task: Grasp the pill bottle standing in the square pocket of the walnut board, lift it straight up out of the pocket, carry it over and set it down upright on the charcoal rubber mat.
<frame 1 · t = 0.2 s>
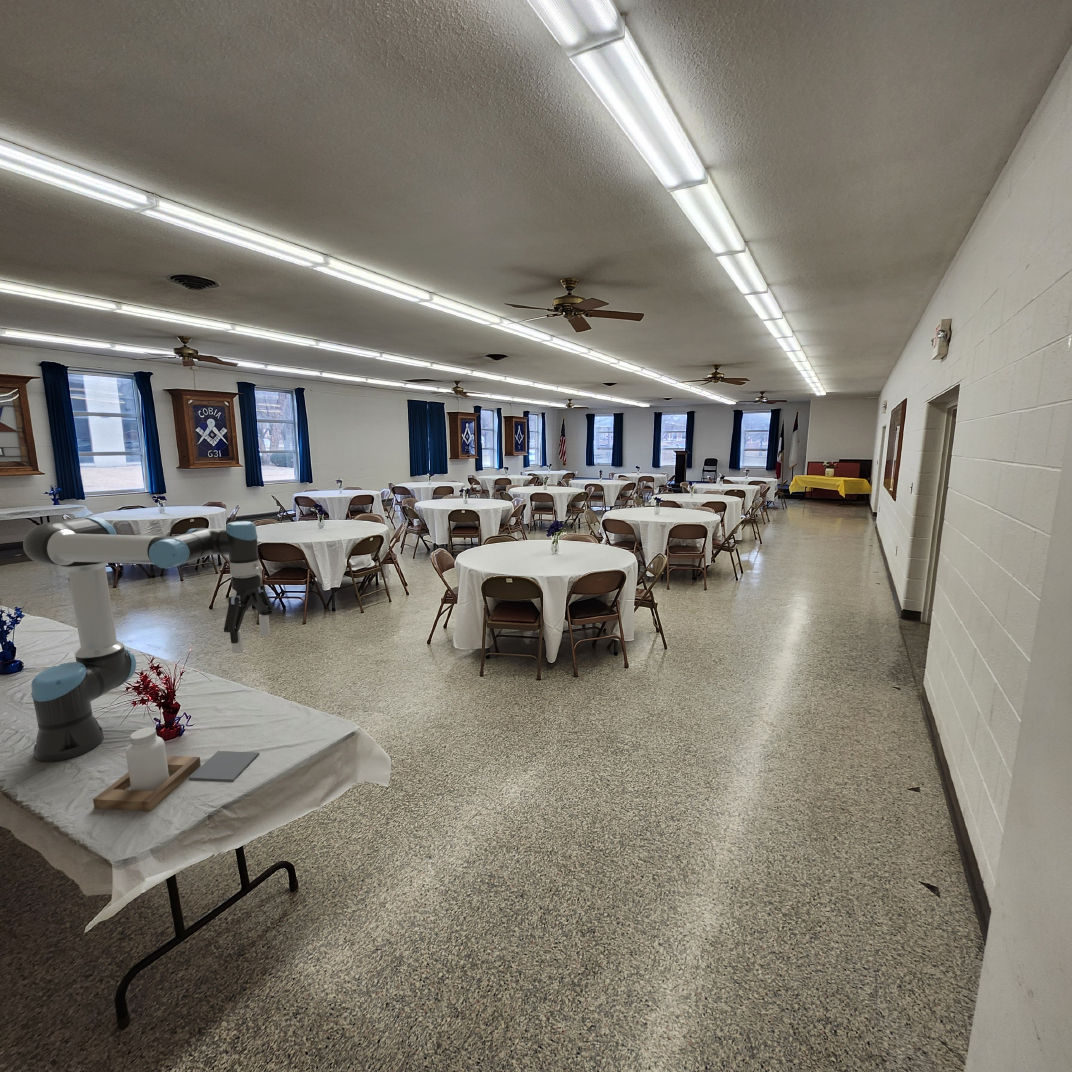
hand: (252, 643, 158), 28 cm above the table, fingers open, 13 cm apart
pocket board: (150, 785, 136), on the table
pill bottle: (150, 786, 136), on the table
mat: (225, 766, 144), on the table
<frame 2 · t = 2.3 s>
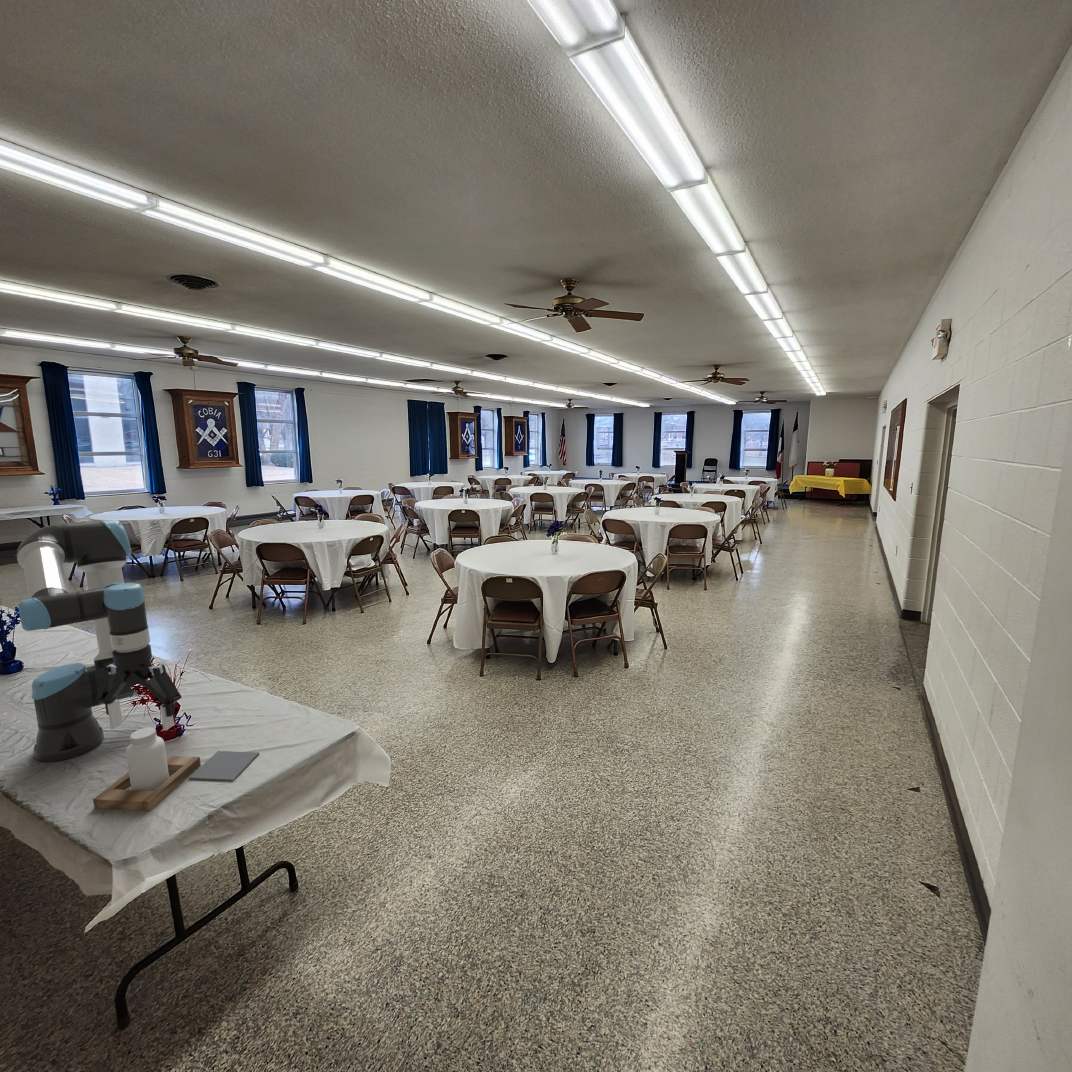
hand: (142, 727, 133), 17 cm above the table, fingers open, 13 cm apart
nothing on the table moved.
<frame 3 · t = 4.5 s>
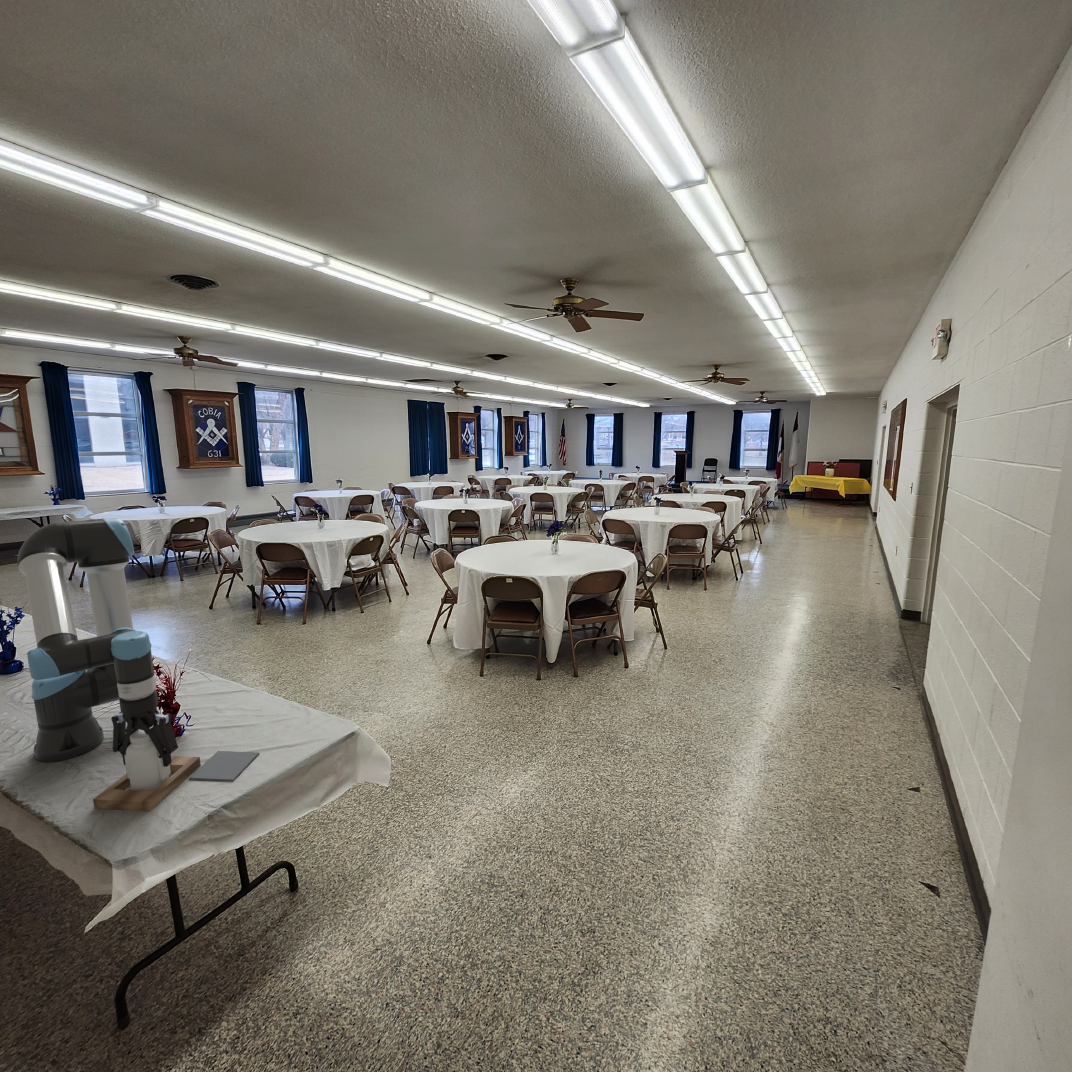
hand: (149, 775, 135), 3 cm above the table, fingers closed on pill bottle, 8 cm apart
pill bottle: (150, 786, 136), on the table, touching gripper
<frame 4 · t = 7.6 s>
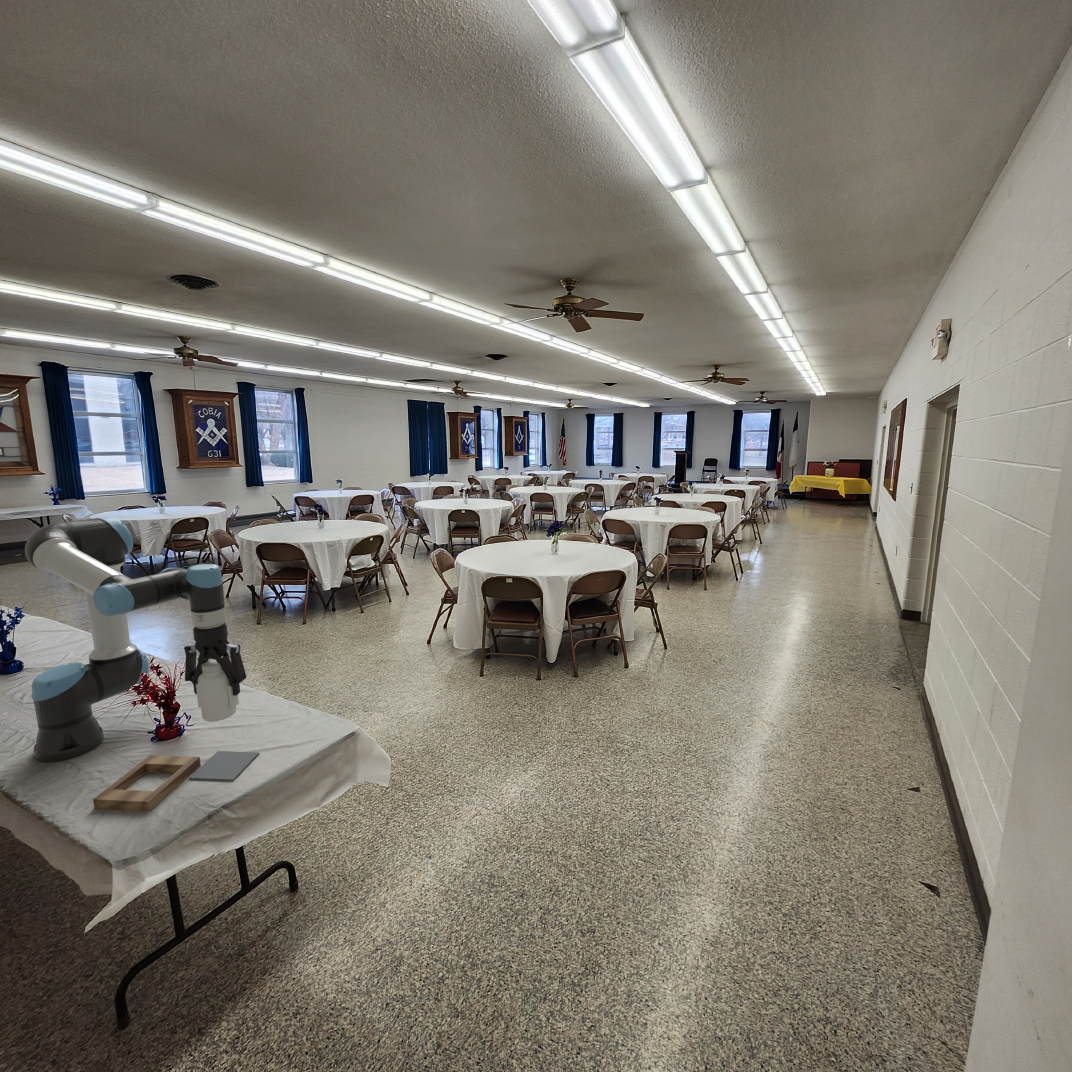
hand: (218, 705, 141), 18 cm above the table, fingers closed on pill bottle, 8 cm apart
pill bottle: (219, 715, 141), point 15 cm above the table, touching gripper
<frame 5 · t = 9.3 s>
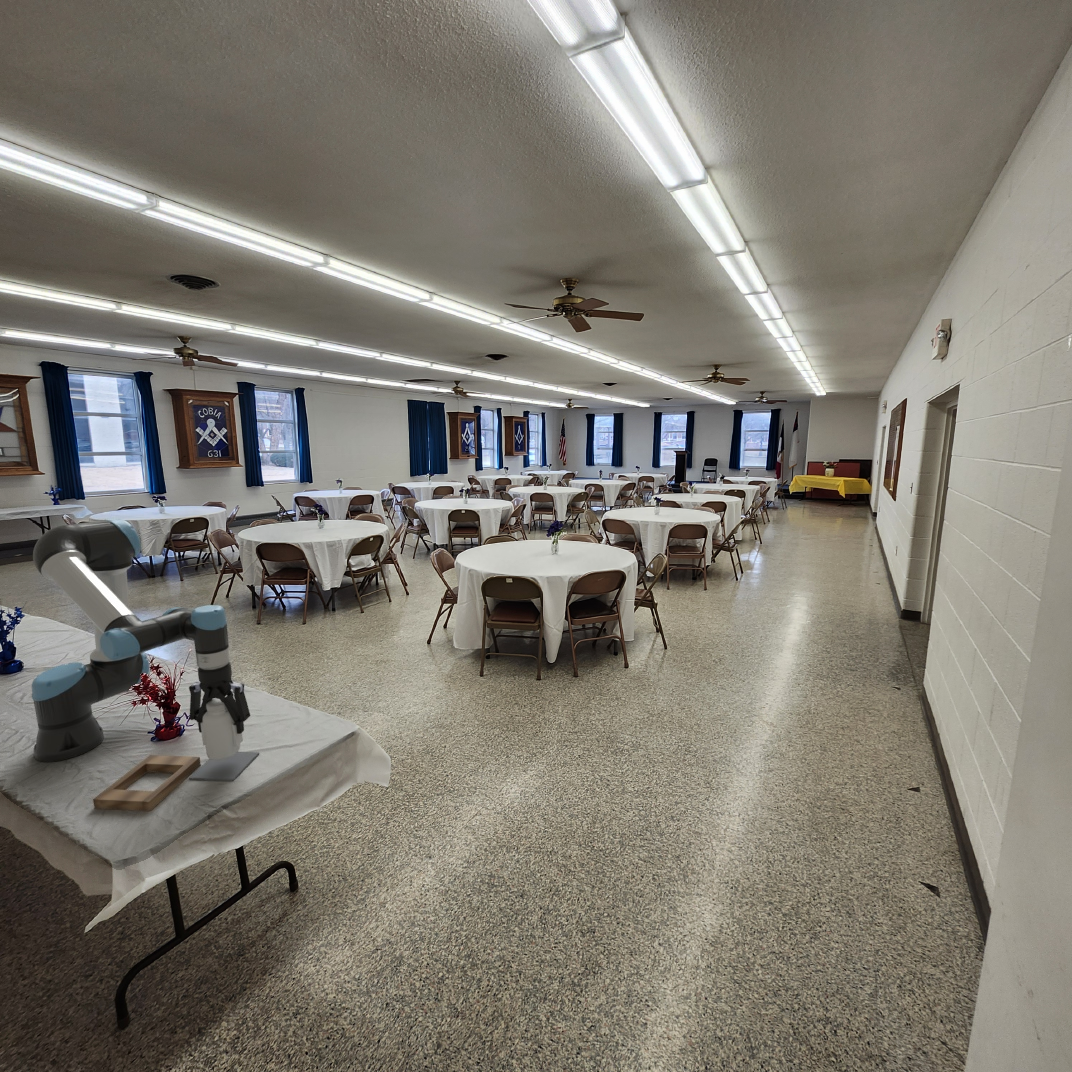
hand: (223, 743, 143), 7 cm above the table, fingers closed on pill bottle, 8 cm apart
pill bottle: (224, 753, 143), point 4 cm above the table, touching gripper
when the fingers open (5 cm above the table, at t = 10.7 s): pill bottle drops 1 cm, resting on mat.
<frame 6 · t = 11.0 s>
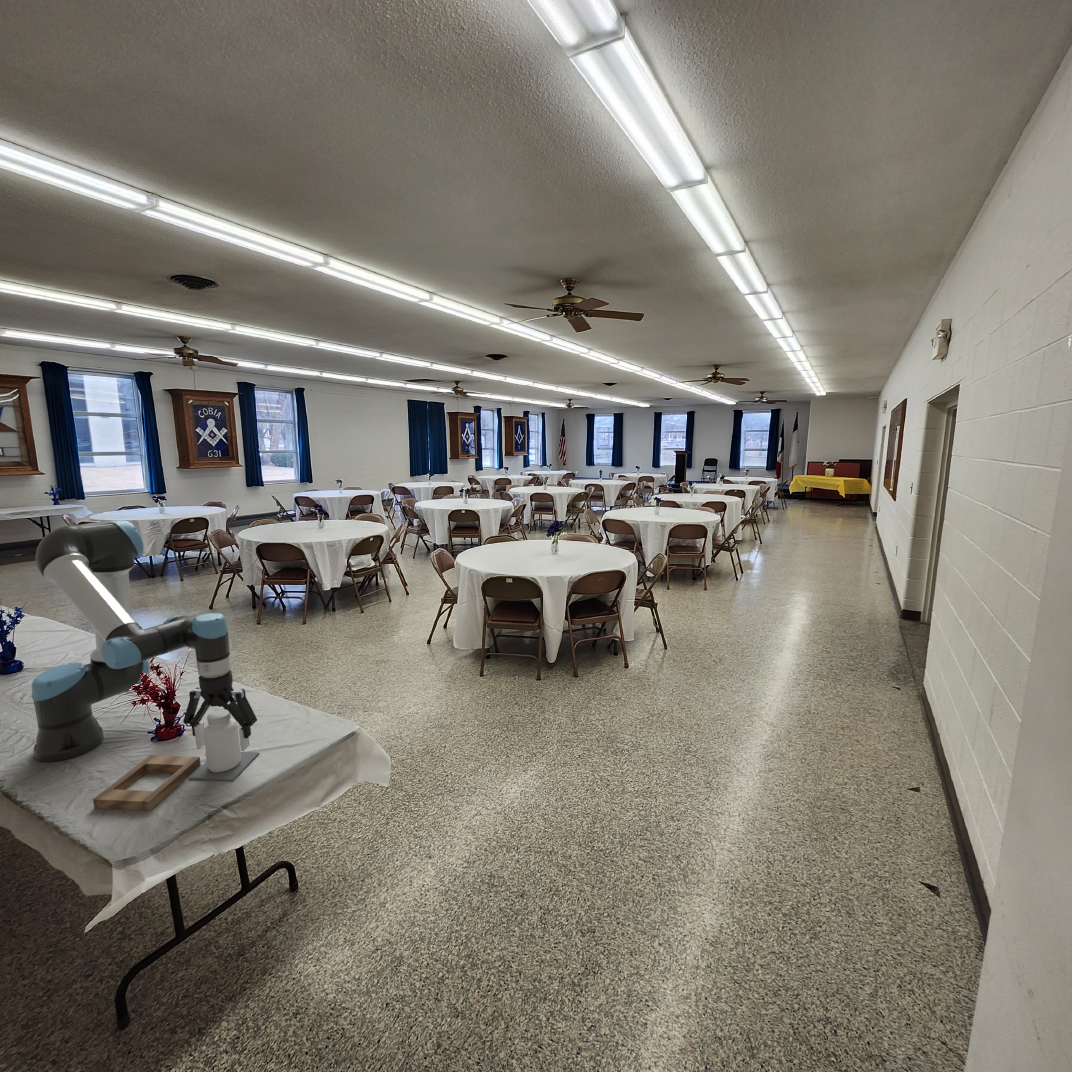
hand: (223, 747, 143), 6 cm above the table, fingers open, 11 cm apart
pill bottle: (224, 765, 144), resting on mat
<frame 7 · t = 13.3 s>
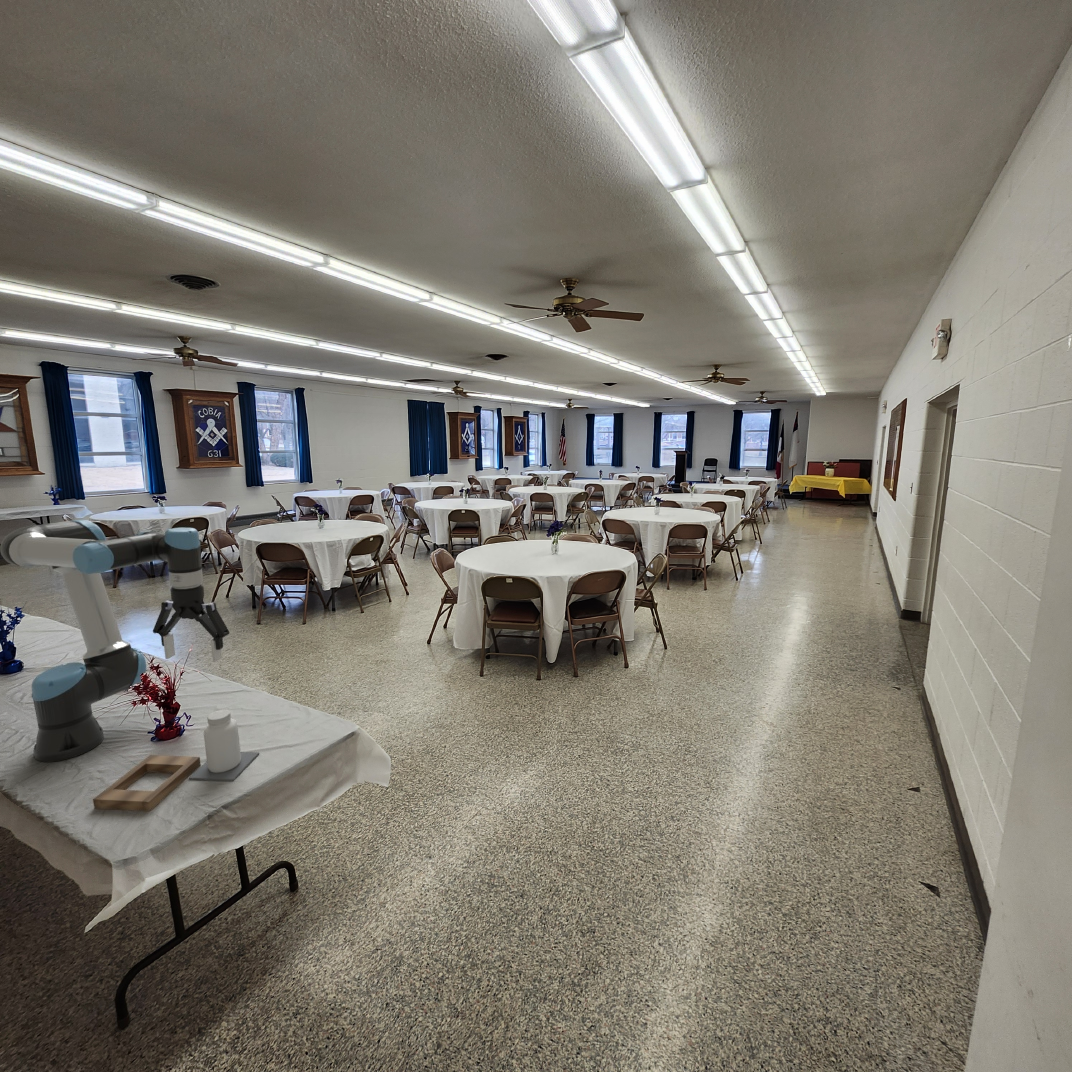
hand: (193, 658, 147), 28 cm above the table, fingers open, 13 cm apart
nothing on the table moved.
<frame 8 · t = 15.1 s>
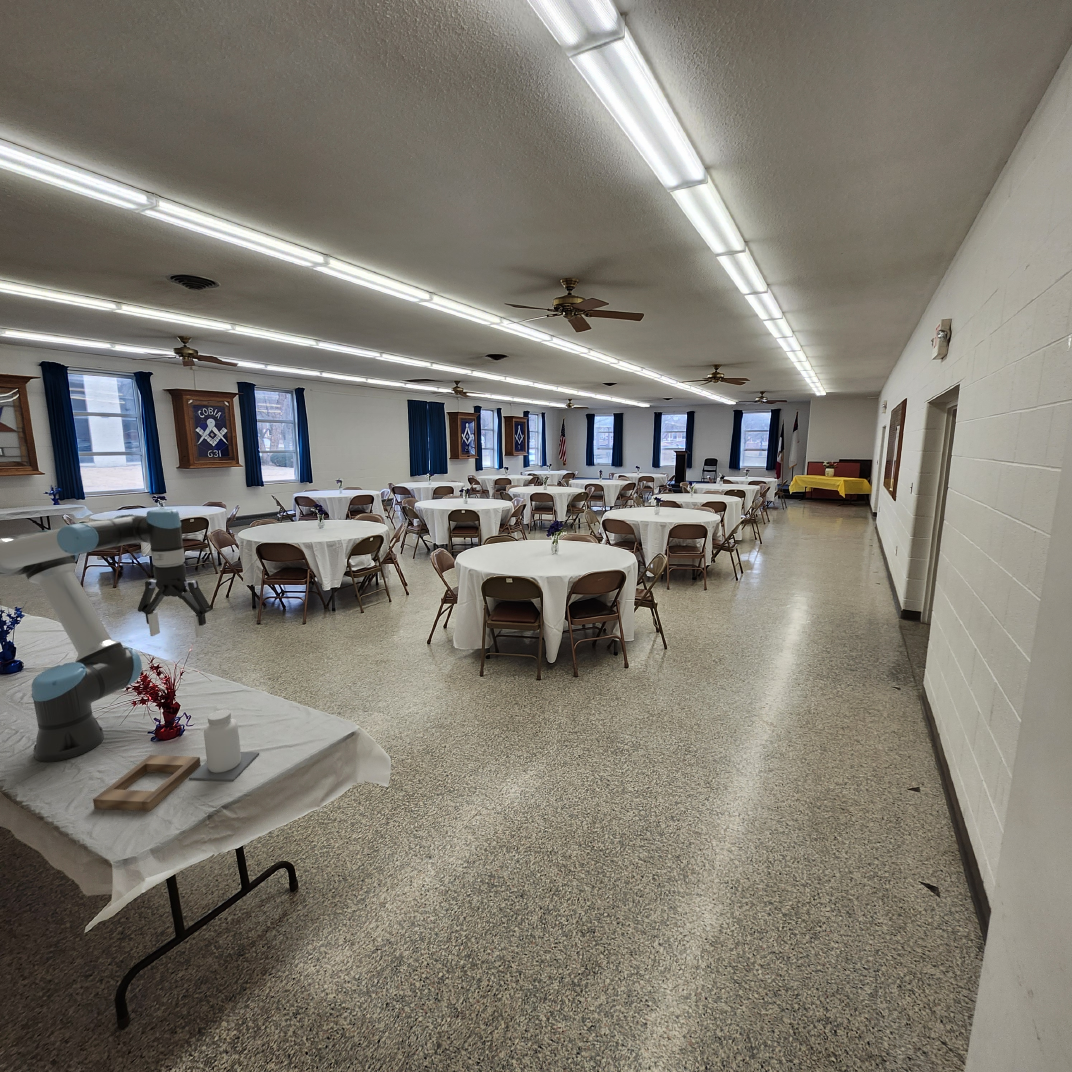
hand: (177, 635, 153), 32 cm above the table, fingers open, 13 cm apart
nothing on the table moved.
at the end: pill bottle inside the target area on the mat (0.1 cm from its centre), point 0.3 cm above the mat's base; pill bottle tilted 0°; the gripper is holding nothing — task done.
